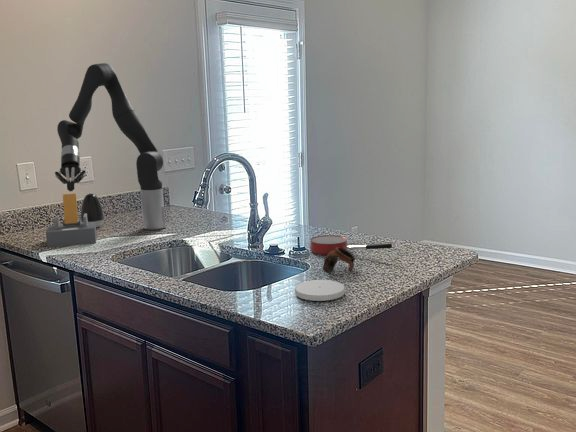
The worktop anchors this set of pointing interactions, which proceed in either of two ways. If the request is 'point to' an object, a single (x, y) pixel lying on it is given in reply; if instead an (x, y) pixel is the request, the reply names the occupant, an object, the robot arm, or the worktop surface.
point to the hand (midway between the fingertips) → (70, 190)
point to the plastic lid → (319, 290)
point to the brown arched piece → (332, 259)
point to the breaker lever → (70, 210)
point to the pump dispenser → (92, 210)
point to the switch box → (71, 233)
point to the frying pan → (338, 244)
